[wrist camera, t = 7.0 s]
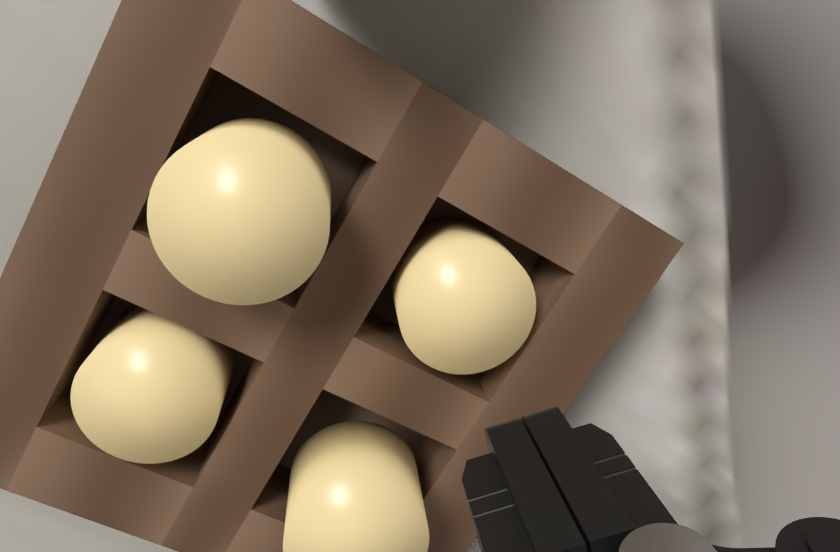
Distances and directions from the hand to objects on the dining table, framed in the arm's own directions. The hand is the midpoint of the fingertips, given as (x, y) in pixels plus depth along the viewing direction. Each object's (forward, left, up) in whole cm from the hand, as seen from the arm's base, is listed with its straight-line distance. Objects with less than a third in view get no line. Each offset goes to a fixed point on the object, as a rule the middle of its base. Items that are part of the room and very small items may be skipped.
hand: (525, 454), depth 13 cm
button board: (-3, -3, -12) cm, 13 cm away
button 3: (-7, 0, -8) cm, 10 cm away
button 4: (0, 0, -10) cm, 10 cm away
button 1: (-7, -7, -10) cm, 14 cm away
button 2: (0, -7, -8) cm, 10 cm away
